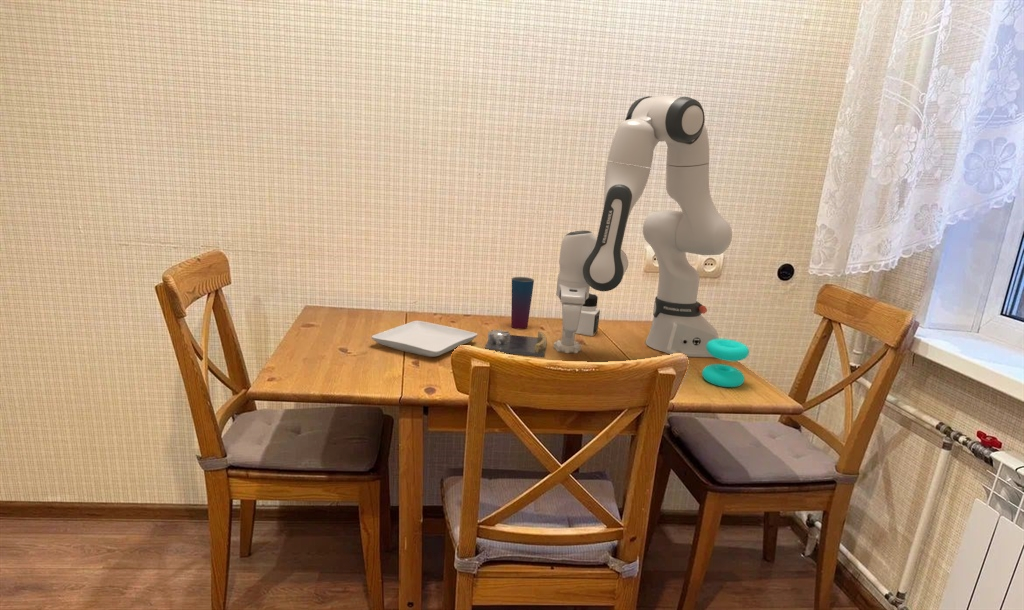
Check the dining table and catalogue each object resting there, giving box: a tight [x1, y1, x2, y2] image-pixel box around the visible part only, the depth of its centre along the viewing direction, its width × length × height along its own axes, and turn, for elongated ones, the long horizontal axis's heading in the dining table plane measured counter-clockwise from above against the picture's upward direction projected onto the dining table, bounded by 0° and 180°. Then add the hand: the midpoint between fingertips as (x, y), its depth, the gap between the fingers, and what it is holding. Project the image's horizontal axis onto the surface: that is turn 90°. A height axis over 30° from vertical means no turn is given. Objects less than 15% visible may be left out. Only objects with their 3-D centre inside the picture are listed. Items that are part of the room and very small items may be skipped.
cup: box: [510, 276, 535, 330], centre depth 184 cm, size 7×7×15 cm
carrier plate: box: [484, 329, 547, 358], centre depth 166 cm, size 16×14×4 cm
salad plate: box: [371, 320, 479, 358], centre depth 163 cm, size 21×21×3 cm
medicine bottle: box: [575, 292, 601, 337], centre depth 184 cm, size 7×7×12 cm
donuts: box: [701, 338, 750, 388], centre depth 150 cm, size 10×10×10 cm
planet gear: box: [553, 328, 582, 354], centre depth 167 cm, size 8×8×6 cm
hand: (568, 338), depth 166 cm, fingers open, 7 cm apart
